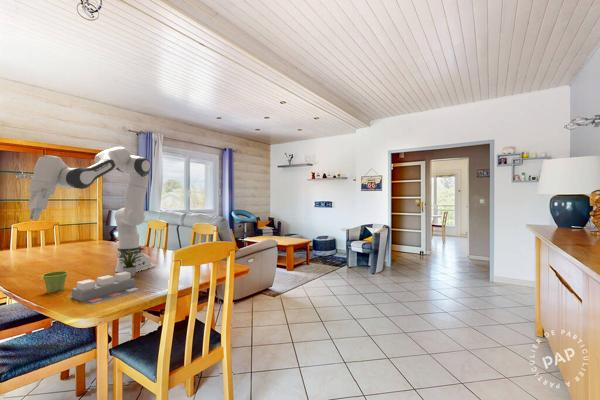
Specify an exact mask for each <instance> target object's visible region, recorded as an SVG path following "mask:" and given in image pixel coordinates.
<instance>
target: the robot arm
mask: <svg viewBox="0 0 600 400" xmlns="http://www.w3.org/2000/svg"><path fill="white" fill-rule="evenodd" d="M151 168H152V165H151V161H150V160H149V159H148V158H146V157H144V156H139V155H131V152H130V151H129V150H128V149H127V148H126V147H123V146H115V147H112V148H107V149H105V150H103V151H101V152H99V153H97V154H96V155H95V156H94V164H92V165H91V166H88V167H70V166H69V165H67V164H66V163H65V162H64V161H63V159H62V158H61V156H60V157H59V156H56V155H41V156H39V158H38V159H37V161H36V164H35V165H34V169H33V176H32V178H31V179H30V183H29V186H28V189H27V190H28V192H29V194H30V195H29V199H28V205H27V206H28V207H27V208H28V210H30V215H29V220H31V221H35V220H39V219H40V216H41V214H42V212H43V211H44V210H45V209H47V207H48V205H49V204H48V202H49V198H51V196H54V195H55V193H56V187H61V188H69V189H70V188H71V189H80V190H82V189H88V188H89V187H90V186H91V185H93V183H94V182H95V181H96V180H97V179H99V178H100V177H102V176H105V175H107V174H108V173H109V172H111V171H114V170H116V171H118V172H122V173H126V174H129V180H128V182H127V185H126V189H125V193H124V196H123V198H124V207H122V208H119V209H117V210H116V211H115V212H114V220H115V222H116V228H117V236H118V247H117V254H116V255H117V261H116V267H115V270H114V272H115V273H120V272H123V269H122V267H123V266H126V265H125V263H120V262H123V261H120V259H122V260H124V259H123V258H122V257H123V256H122V257H121V255H118V254H122V252H123V254H125V255H127V256H126V257H128V251H130V250H131V253H133V252H134V251H135V250H136V251H135V252H134V254H133V256H132V258H133V257H134V255H135V254H136V253H138V252H139V251H140V252H139V253H140V254H141V255H139V253H138V255H136V256H135V258H136V257H138V256H142V257H139V258H137V259H141V261H138V260H137V259H136V261H137V262H136V264H135V263H134V264H133V265H136V266H137V267H136V272H135V273H137V272H138V271H139V272H141V270H142V271H145V270H149V269H152V268H155V267H156V264H155V263H152V259H151V257H150V256H149V255H147V254H145V253H144V252H142V251H145V250H146V248H145V247H144V246H140V233H139V232H138V228H137V226H141V225H142V224H143V223H144V222H145V219H146V215H145V213H144V212H145V211H144V210H145V209H144V208H145V198H146V195H147V190H148V187H149V186H148V185H149V177H150V175H149V173H150V171H151ZM123 254H122V255H123ZM127 260H128V259H127ZM131 260H132V259H131ZM124 261H125V260H124ZM120 264H121V265H120ZM148 268H149V269H148Z"/></svg>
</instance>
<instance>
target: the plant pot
mask: <svg viewBox="0 0 600 400" xmlns="http://www.w3.org/2000/svg"><path fill="white" fill-rule="evenodd" d="M68 273H69V272H68V271H66V270H65V271H64V270H60V271H51V272H47V273H43V274H42V275H41V276H42V278H43V280H44V285H45V289H46V293H47V294H51V293H55V292H60V291H64V289H65V284H66V277H67V275H68Z"/></svg>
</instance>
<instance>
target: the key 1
mask: <svg viewBox="0 0 600 400" xmlns="http://www.w3.org/2000/svg"><path fill="white" fill-rule="evenodd" d="M95 283H96V280H93V279H90V278H89V279H84V280H80V281H76V288H77V290H80V291H85V290H89V289H93V288H95Z"/></svg>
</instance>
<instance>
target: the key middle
mask: <svg viewBox="0 0 600 400" xmlns="http://www.w3.org/2000/svg"><path fill="white" fill-rule="evenodd" d="M114 279H115V276H113V275H109V274H106V275H103V276H98V277H96V283H97V285H100V286H105V285H109V284H113V283H114Z"/></svg>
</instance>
